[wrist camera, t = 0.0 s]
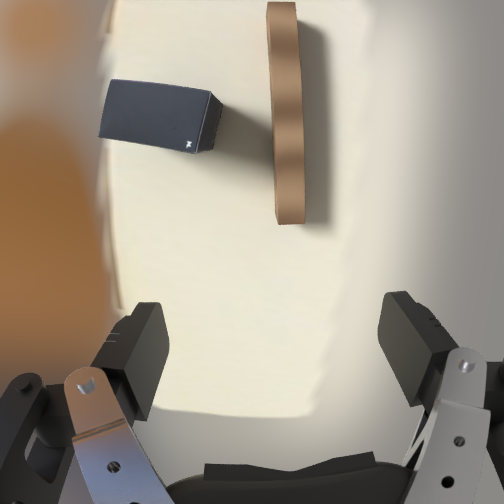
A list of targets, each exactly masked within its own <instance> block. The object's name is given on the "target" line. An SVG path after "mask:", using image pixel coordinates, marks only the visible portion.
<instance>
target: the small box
mask: <svg viewBox="0 0 504 504" xmlns="http://www.w3.org/2000/svg"><path fill="white" fill-rule="evenodd" d="M222 106H223V104H222V103H221V102H220V101H219V100H218V99H217V98H216V97H215V96H214V95H213V94H212V93H211V91H207V90H201V89H195V88H189V87H182V86H176V85H168V84H161V83H152V82H142V81H132V80H119V79H112V80H111V81H110V84H109V88H108V92H107V96H106V100H105V104H104V109H103V114H102V119H101V124H100V130H99V136H98V137H100V138H106V139H113V140H119V141H126V142H132V143H138V144H144V145H150V146H156V147H161V148H167V149H172V150H177V151H182V152H187V153H192V154H195V153H199V152H203V151H206V150H211V149H213V146H214V139H215V135H216V131H217V126H218V123H219V119H220V117H221V112H222Z"/></svg>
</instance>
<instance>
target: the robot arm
mask: <svg viewBox="0 0 504 504" xmlns="http://www.w3.org/2000/svg"><path fill="white" fill-rule="evenodd" d="M110 333H111V334H109V336H108V337H107V339H106V342H104V344H103V345H102V347H101V349H100V350H99V352H98V354H97V356H96V357H95V359H94V361H93V362H92V364H91V366H90V367H84V368H81V369H78V370H76V371H74V372H73V373H72V374H70V376H68V378H67V379H66V381H65V383H64V384H55V385H45V384H44V382H43V381H42V379H41V378H40V376H39V375H37V374H35V373H24V374H21V375H19V376H17V377H16V378H15V379H13V380H12V381H11V383H10V384H9V385H8V387H7V389H6V390H5V392H4V393H3V395H2V397H1V398H0V504H58V502H59V498H60V495H61V491H62V488H63V485H64V482H65V479H66V476H67V473H68V470H69V467H70V464H71V461H72V458H73V455H74V452H75V453H76V455H77V459H78V462H79V465H80V468H81V470H82V473H83V476H84V479H85V481H86V484H87V486H88V489H89V491H90V494H91V496H92V499H93V501H94V503H95V504H473V501H474V498H475V494H476V490H477V487H478V483H479V479H480V474H481V470H482V466H483V461H484V455H485V450H486V448H487V450H488V453H489V455H490V457H491V460H492V462H493V464H494V467H495V469H496V472H497V474H498V476H499V479H500V482H501V484H502V487H503V489H504V359H503V361H502V362H486V360H485V359H484V357H483V356H482V355H481V354H480V353H479V352H477V351H475V350H473V349H470V348H466V347H459V346H458V345H457V344H456V342H455V341H454V340H453V338H452V337H451V336H450V335H449V333H448V332H447V331H446V329H445V328H444V327H443V326H441V323H440V322H439V321H438V320H437V319H436V317H435V316H434V315H433V313H432V312H431V311H430V310H429V309H428V308H426V307H425V306H423V305H422V304H420V303H416V302H415V301H414V300H413V299H412V297H411V296H410V295H409V294H408V292H406V291H397V292H388V293H386V294H385V295H384V299H383V304H382V310H381V315H380V320H379V325H378V340H379V344H380V346H381V348H382V350H383V352H384V354H385V356H386V358H387V360H388V362H389V364H390V366H391V368H392V370H393V371H394V374H395V376H396V378H397V380H398V382H399V384H400V386H401V388H402V390H403V392H404V395H405V396H406V399H407V401H408V403H409V405H410V407H414V406H418V405H422V404H423V406H424V408H425V409H424V411H423V413H422V415H421V418H420V420H419V423H418V426H417V429H416V431H415V434H414V437H413V439H412V442H411V444H410V447H409V449H408V452H407V454H406V456H405V458H404V460H403V462H402V464H401V465H398V464H393V463H388V462H376V461H375V458H374V454H373V452H372V451H371V452H367V453H362V454H356V455H350V456H344V457H338V458H332V459H330V460H327V461H324V462H321V463H318V464H315V465H312V466H309V467H306V468H303V469H300V470H297V471H290V472H289V471H281V470H274V469H268V468H263V467H257V466H252V465H235V464H231V465H230V464H228V465H227V464H205V467H204V474H201V475H195V476H192V477H188V478H185V479H182V480H179V481H177V482H175V483H173V484H171V485H169V486H168V487H166V485H165V484H164V482H163V481H162V479H161V477H160V476H159V474H158V473H157V471H156V470H155V468H154V466H153V465H152V463H151V461H150V459H149V458H148V456H147V454H146V453H145V451H144V449H143V448H142V446H141V444H140V442H139V440H138V438H137V436H136V434H135V433H134V431H133V429H132V426H133V423H134V420H139V421H147V418H148V415H149V412H150V409H151V406H152V402H153V399H154V396H155V393H156V390H157V387H158V384H159V381H160V378H161V375H162V372H163V369H164V366H165V363H166V360H167V357H168V353H169V337H168V332H167V328H166V324H165V319H164V315H163V310H162V307H161V304H160V303H159V302H139V303H138V304H137V306H136V307H135V309H134V311H133V312H132V314H131V316H125V317H124V318H122V319H121V320H120V321H118V322H117V323H116V324H115V326H114V327H113V329H112V331H111V332H110ZM33 432H34V433H35V434H36V435H37V438H36V440H35V442H34V444H33V447H32V449H31V451H30V454H29V456H28V458H27V461H26V460H25V456H24V452H25V448H26V446H27V443H28V441H29V439H30V437H31V435H32V433H33Z"/></svg>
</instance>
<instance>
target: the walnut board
mask: <svg viewBox="0 0 504 504" xmlns="http://www.w3.org/2000/svg"><path fill="white" fill-rule="evenodd" d="M266 23H267V39H268V55H269V72H270V90H271V110H272V133H273V157H274V186H275V214H276V218H277V222H278V225H287V224H305V171H304V131H303V105H302V85H301V68H300V54H299V40H298V28H297V17H296V6H295V2H268V4H267V13H266Z"/></svg>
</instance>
